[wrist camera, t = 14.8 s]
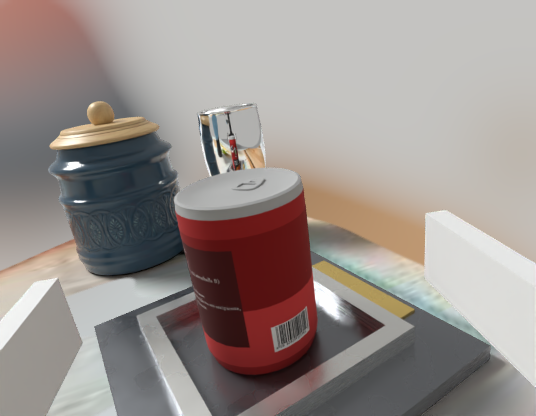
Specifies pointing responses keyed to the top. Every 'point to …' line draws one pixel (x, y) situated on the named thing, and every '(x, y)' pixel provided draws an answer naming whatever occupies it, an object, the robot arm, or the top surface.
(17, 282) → the top surface
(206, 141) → the beer glass
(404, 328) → the plate
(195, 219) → the canned food
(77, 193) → the canister
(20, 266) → the top surface
